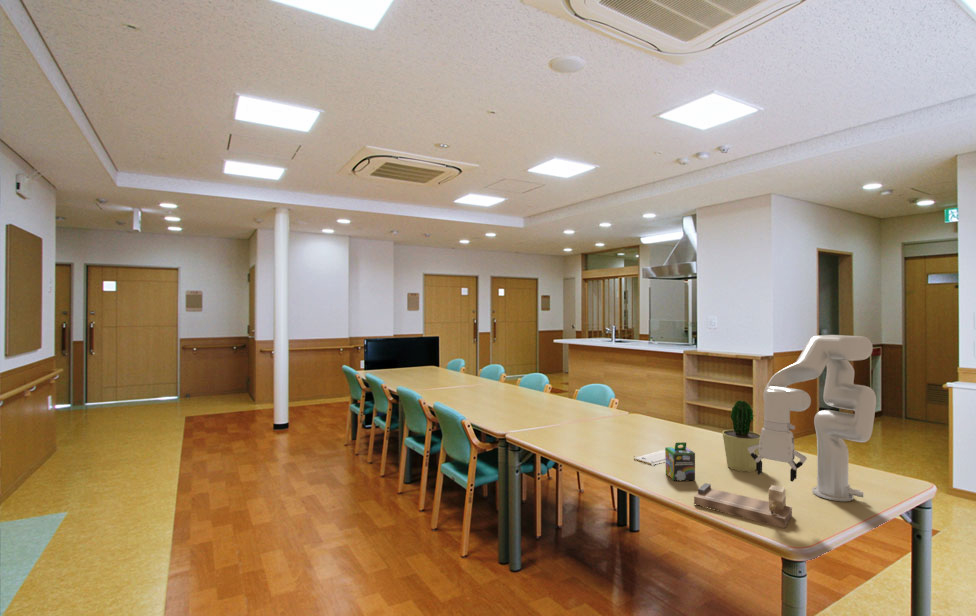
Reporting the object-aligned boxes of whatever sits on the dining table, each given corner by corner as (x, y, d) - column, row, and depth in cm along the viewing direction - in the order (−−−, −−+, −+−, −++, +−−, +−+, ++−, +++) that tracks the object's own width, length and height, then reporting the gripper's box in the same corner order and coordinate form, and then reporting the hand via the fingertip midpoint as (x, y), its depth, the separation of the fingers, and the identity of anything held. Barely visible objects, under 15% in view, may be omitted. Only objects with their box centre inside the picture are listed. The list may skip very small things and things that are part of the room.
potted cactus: (717, 467, 213) (717, 399, 213) (728, 459, 225) (728, 394, 225) (756, 476, 203) (756, 404, 203) (765, 467, 214) (766, 399, 214)
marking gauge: (785, 510, 167) (785, 487, 167) (778, 522, 158) (778, 497, 158) (772, 507, 169) (772, 484, 169) (764, 518, 160) (764, 494, 160)
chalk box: (686, 473, 206) (686, 438, 206) (696, 481, 197) (696, 444, 197) (664, 473, 206) (664, 438, 206) (673, 481, 197) (673, 445, 197)
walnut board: (791, 516, 164) (791, 502, 164) (784, 528, 155) (784, 514, 155) (705, 495, 183) (705, 483, 183) (694, 504, 174) (694, 492, 174)
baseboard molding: (696, 455, 233) (674, 449, 243) (696, 449, 233) (674, 443, 243) (655, 468, 215) (633, 461, 225) (655, 461, 215) (633, 454, 225)
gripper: (808, 429, 162) (807, 480, 162) (751, 420, 174) (750, 468, 173) (804, 432, 157) (804, 486, 156) (745, 423, 168) (744, 473, 168)
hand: (775, 477), depth 165 cm, fingers open, 9 cm apart
